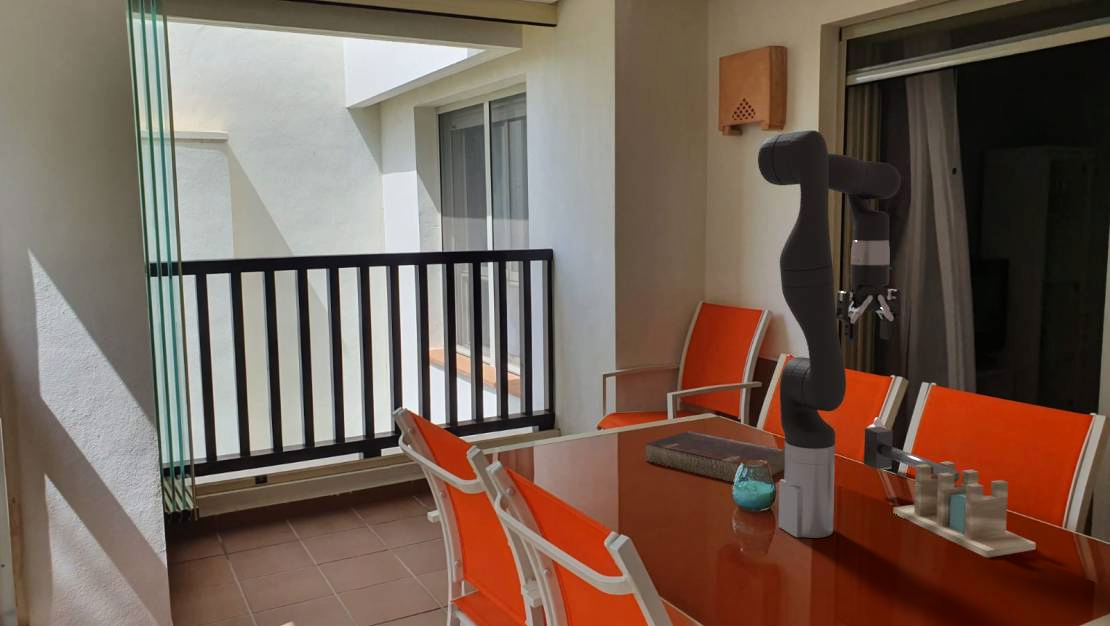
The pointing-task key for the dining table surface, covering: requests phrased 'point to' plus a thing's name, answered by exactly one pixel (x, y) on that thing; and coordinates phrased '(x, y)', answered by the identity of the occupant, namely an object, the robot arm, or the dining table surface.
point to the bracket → (980, 514)
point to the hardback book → (710, 454)
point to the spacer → (958, 512)
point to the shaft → (894, 453)
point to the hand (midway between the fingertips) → (867, 339)
